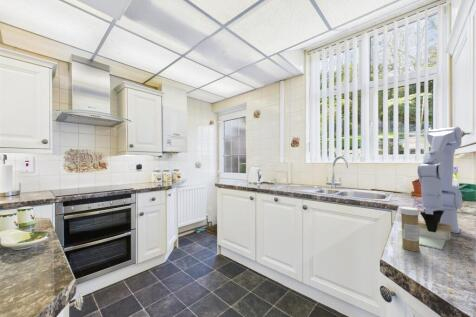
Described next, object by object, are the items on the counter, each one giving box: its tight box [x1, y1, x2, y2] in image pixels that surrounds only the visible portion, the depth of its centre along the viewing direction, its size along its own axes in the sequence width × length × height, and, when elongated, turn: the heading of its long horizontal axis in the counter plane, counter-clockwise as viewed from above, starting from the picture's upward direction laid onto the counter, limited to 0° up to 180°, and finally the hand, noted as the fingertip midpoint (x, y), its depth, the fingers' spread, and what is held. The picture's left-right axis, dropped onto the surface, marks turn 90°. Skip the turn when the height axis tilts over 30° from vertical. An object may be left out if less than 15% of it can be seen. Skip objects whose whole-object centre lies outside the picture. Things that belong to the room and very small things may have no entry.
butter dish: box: [419, 228, 451, 242], centre depth 76 cm, size 5×9×3 cm, turn 39°
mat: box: [419, 235, 447, 251], centre depth 70 cm, size 11×7×1 cm, turn 129°
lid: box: [418, 219, 452, 234], centre depth 76 cm, size 5×9×3 cm, turn 39°
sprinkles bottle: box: [399, 206, 421, 252], centre depth 65 cm, size 5×5×14 cm
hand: (433, 230), depth 76 cm, fingers open, 5 cm apart
